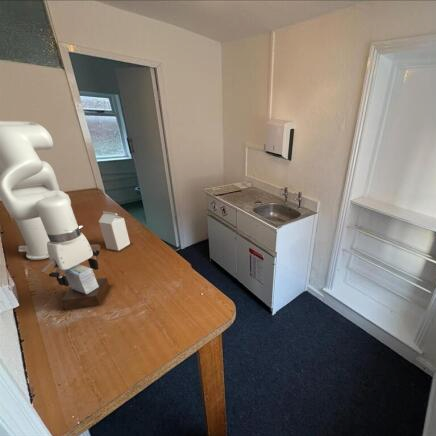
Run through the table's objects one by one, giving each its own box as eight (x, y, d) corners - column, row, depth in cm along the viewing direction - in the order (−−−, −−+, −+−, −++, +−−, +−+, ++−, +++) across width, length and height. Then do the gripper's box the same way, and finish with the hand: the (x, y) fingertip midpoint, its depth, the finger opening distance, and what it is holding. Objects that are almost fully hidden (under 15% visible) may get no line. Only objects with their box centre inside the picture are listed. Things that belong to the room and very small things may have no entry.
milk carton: (118, 251, 114) (109, 216, 106) (106, 248, 115) (95, 214, 107) (130, 244, 121) (122, 210, 113) (118, 241, 122) (109, 208, 114)
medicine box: (99, 287, 86) (92, 268, 82) (86, 295, 82) (78, 275, 78) (84, 281, 88) (77, 262, 84) (70, 289, 84) (62, 269, 80)
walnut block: (65, 310, 81) (60, 300, 79) (78, 290, 89) (75, 281, 88) (99, 305, 84) (96, 295, 82) (109, 286, 92) (106, 277, 91)
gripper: (84, 221, 84) (97, 260, 91) (22, 244, 69) (43, 289, 76) (100, 225, 82) (112, 265, 89) (39, 250, 67) (59, 295, 74)
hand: (80, 276), depth 83 cm, fingers open, 9 cm apart
